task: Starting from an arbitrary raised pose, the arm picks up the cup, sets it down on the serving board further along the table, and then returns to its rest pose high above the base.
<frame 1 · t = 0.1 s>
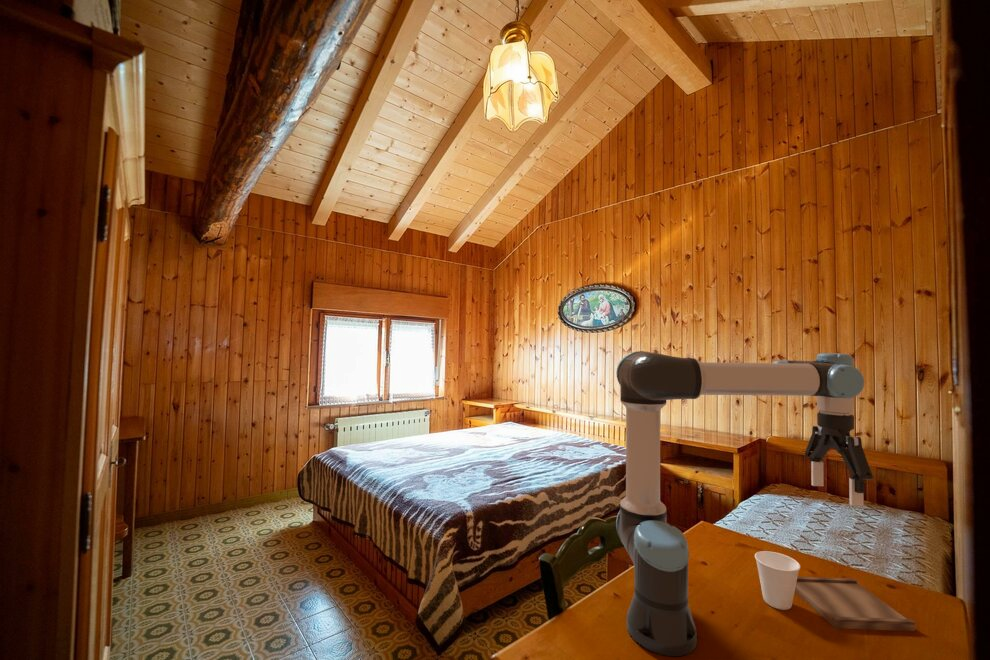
hand: (835, 494, 110), 28 cm above the table, fingers open, 13 cm apart
board: (845, 605, 109), on the table
cup: (777, 604, 110), on the table
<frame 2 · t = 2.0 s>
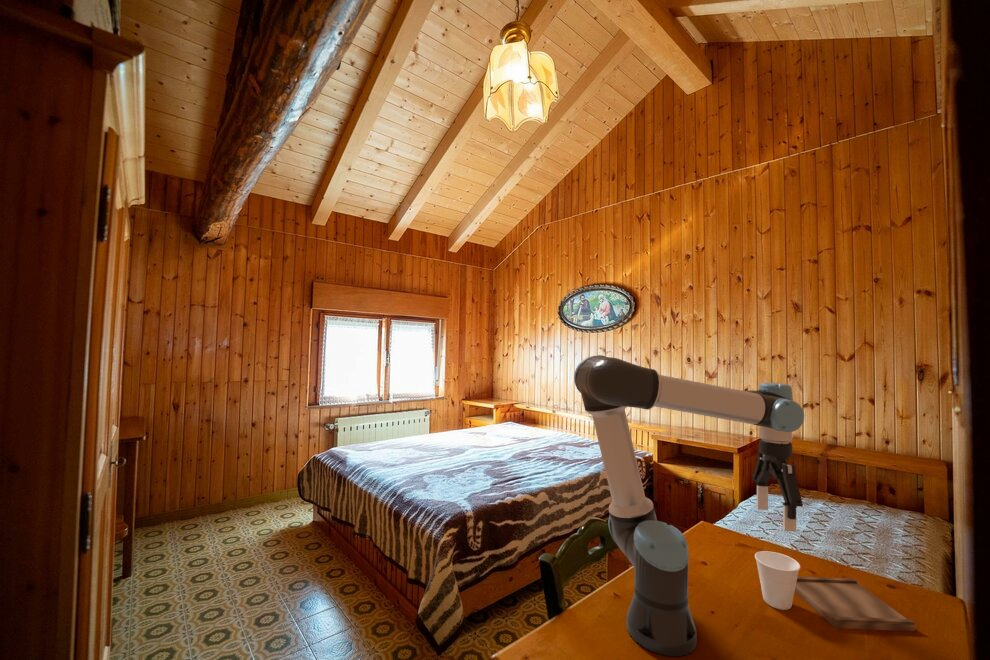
hand: (775, 519, 115), 20 cm above the table, fingers open, 13 cm apart
nothing on the table moved.
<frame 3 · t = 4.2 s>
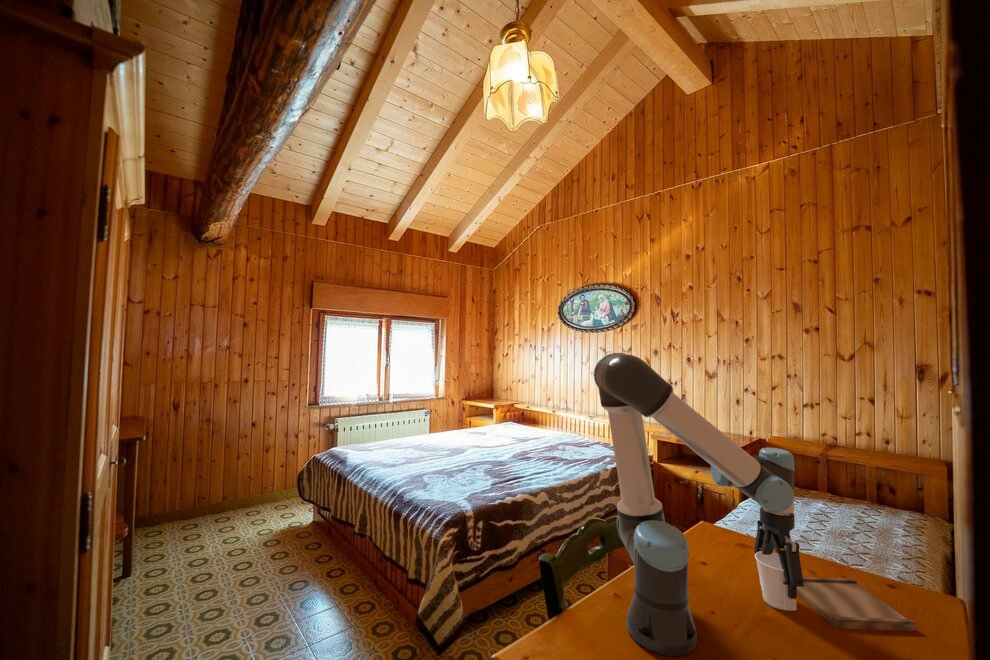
hand: (777, 596, 110), 2 cm above the table, fingers closed on cup, 9 cm apart
cup: (777, 604, 110), on the table, touching gripper
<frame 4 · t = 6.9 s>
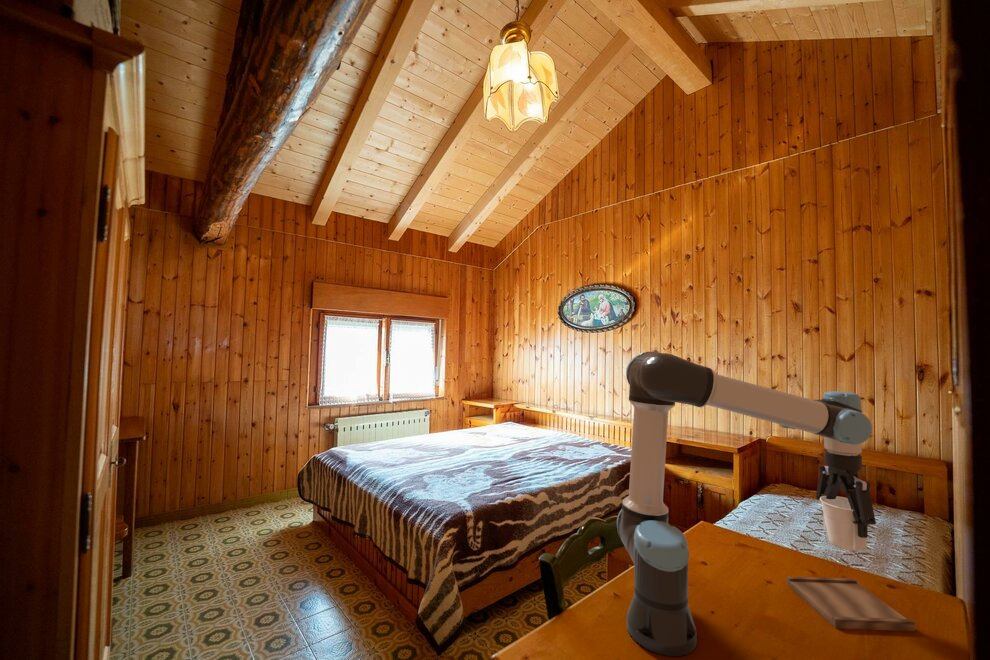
hand: (843, 539, 110), 17 cm above the table, fingers closed on cup, 9 cm apart
cup: (844, 546, 110), point 15 cm above the table, touching gripper
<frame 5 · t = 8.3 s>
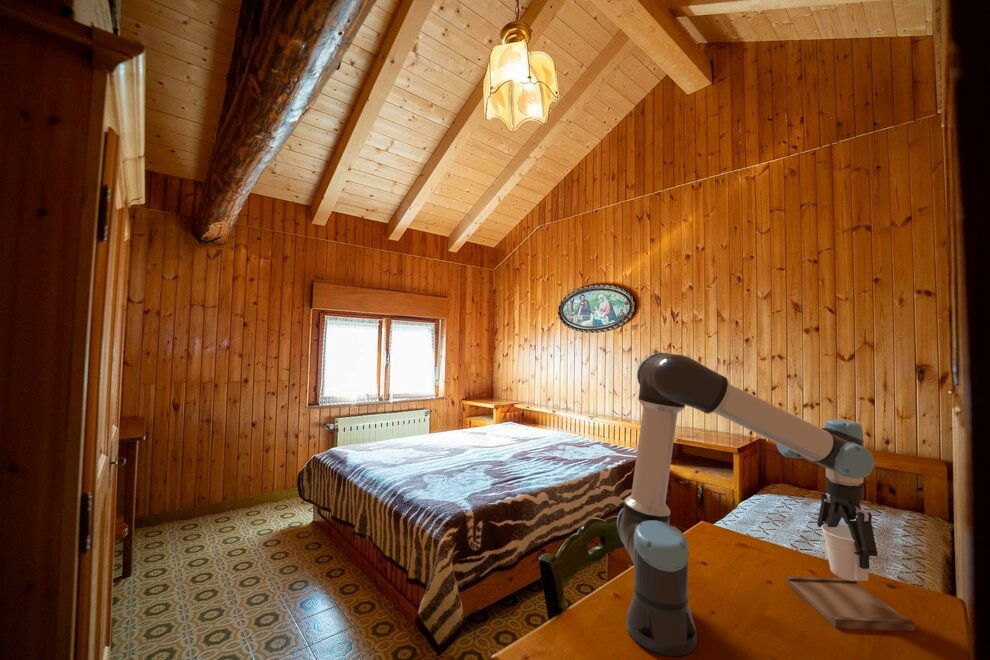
hand: (845, 568, 109), 9 cm above the table, fingers closed on cup, 9 cm apart
cup: (845, 575, 109), point 8 cm above the table, touching gripper
when the fingers open (5 cm above the table, at t = 9.6 s): cup drops 2 cm, resting on board.
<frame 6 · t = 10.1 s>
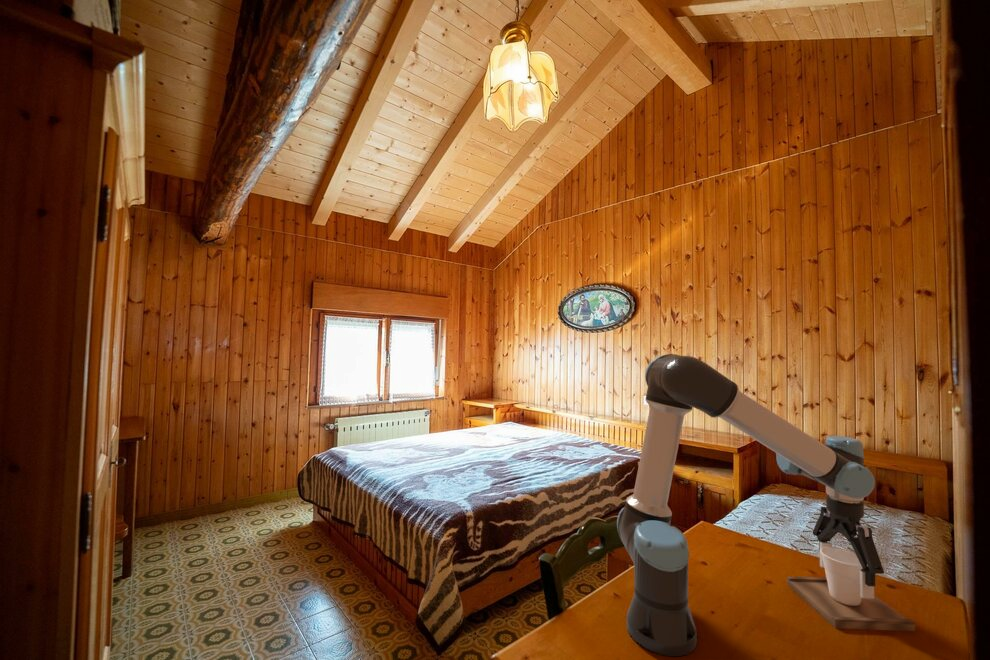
hand: (845, 581, 109), 6 cm above the table, fingers open, 13 cm apart
cup: (844, 600, 109), point 1 cm above the table, touching board
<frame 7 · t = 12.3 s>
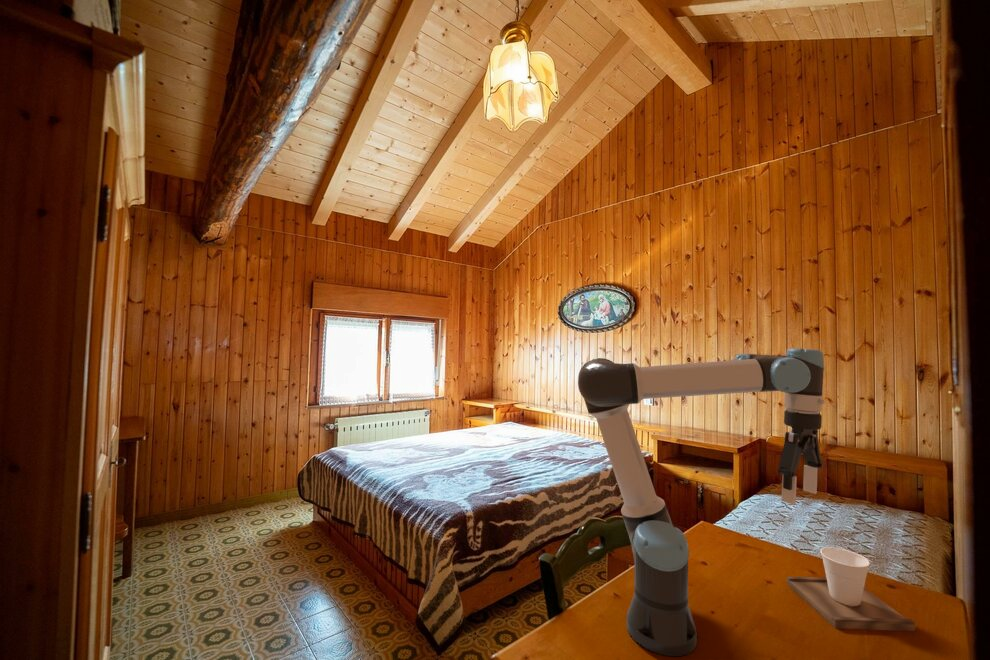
hand: (799, 497, 105), 29 cm above the table, fingers open, 13 cm apart
nothing on the table moved.
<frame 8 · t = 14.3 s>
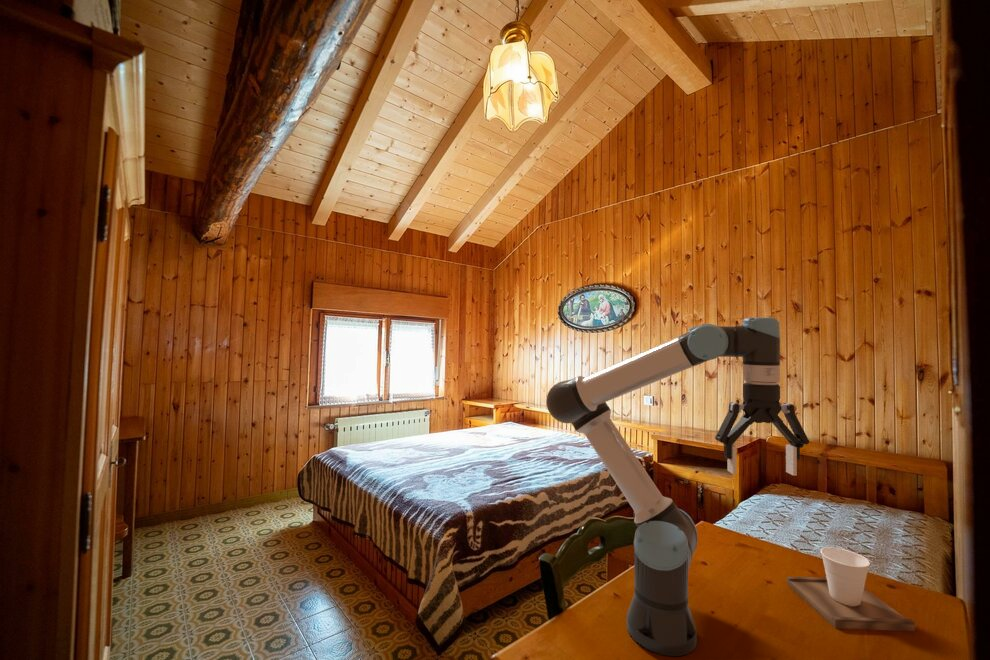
hand: (761, 473, 100), 37 cm above the table, fingers open, 13 cm apart
nothing on the table moved.
at the end: cup inside the target area (0.1 cm from its centre), point 1.3 cm above the table; cup tilted 0°; the gripper is holding nothing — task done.
